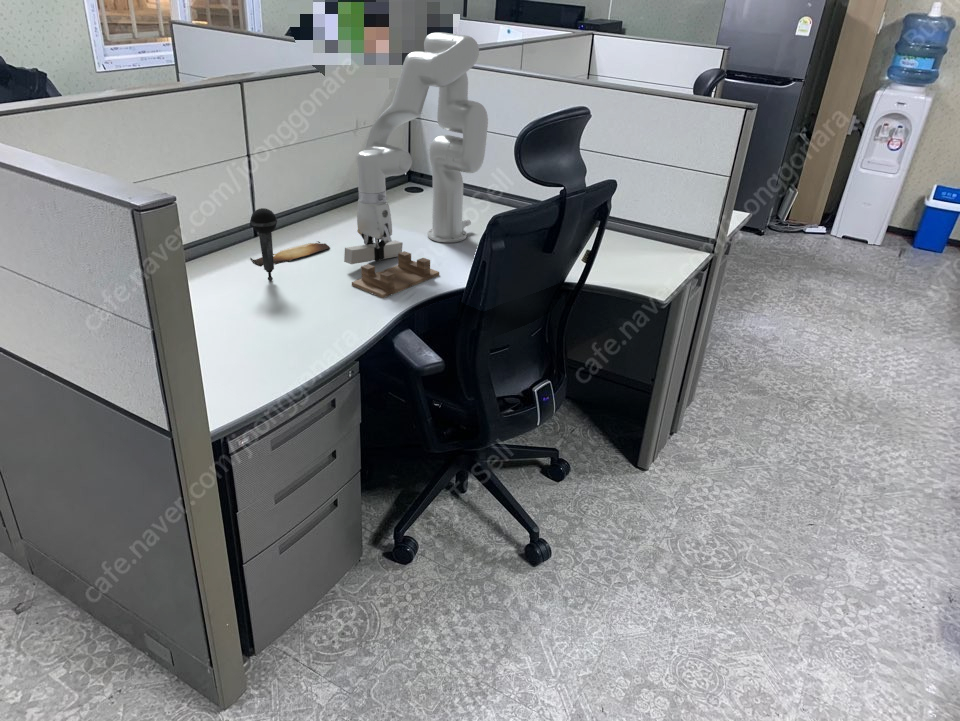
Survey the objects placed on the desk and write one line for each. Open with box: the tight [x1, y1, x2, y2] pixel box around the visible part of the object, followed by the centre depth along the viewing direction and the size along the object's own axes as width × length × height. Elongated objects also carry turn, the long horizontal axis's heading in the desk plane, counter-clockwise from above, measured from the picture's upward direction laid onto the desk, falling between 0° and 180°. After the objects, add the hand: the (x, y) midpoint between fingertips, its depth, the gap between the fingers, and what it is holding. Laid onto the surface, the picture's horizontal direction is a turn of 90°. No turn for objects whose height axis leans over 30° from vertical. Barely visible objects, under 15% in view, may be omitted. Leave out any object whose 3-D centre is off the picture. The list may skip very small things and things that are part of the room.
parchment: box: [249, 240, 331, 267], centre depth 213 cm, size 25×10×1 cm, turn 135°
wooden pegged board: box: [351, 250, 440, 299], centre depth 197 cm, size 22×12×5 cm, turn 141°
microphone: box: [249, 208, 278, 282], centre depth 190 cm, size 7×7×20 cm
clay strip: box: [343, 240, 403, 265], centre depth 208 cm, size 20×3×4 cm, turn 141°
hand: (375, 257), depth 209 cm, fingers closed on clay strip, 2 cm apart
